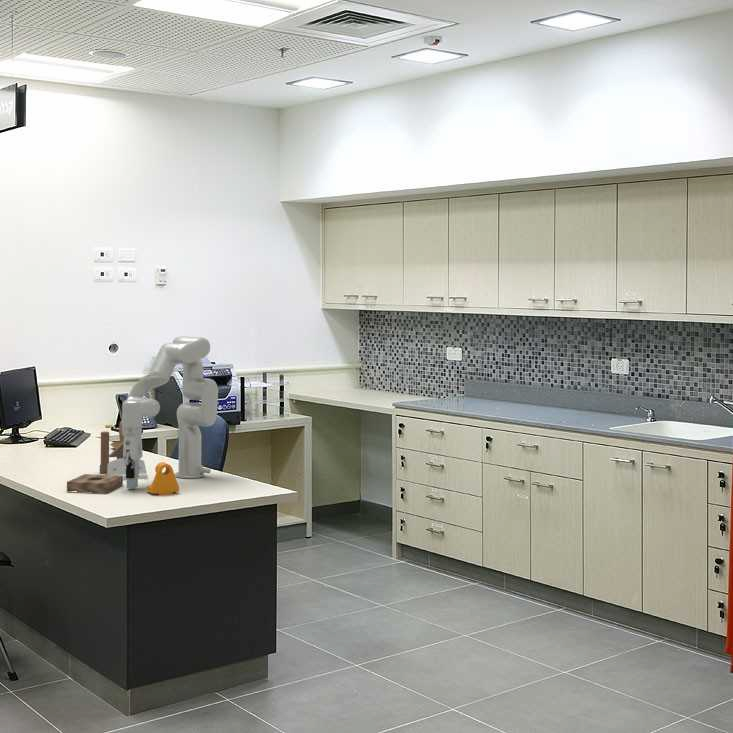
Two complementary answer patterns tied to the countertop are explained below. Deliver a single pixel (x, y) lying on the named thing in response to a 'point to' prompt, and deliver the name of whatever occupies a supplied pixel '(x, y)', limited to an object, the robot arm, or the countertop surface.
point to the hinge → (119, 468)
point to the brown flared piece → (116, 444)
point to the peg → (134, 481)
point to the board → (95, 483)
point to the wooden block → (105, 452)
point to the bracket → (163, 481)
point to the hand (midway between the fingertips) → (132, 476)
